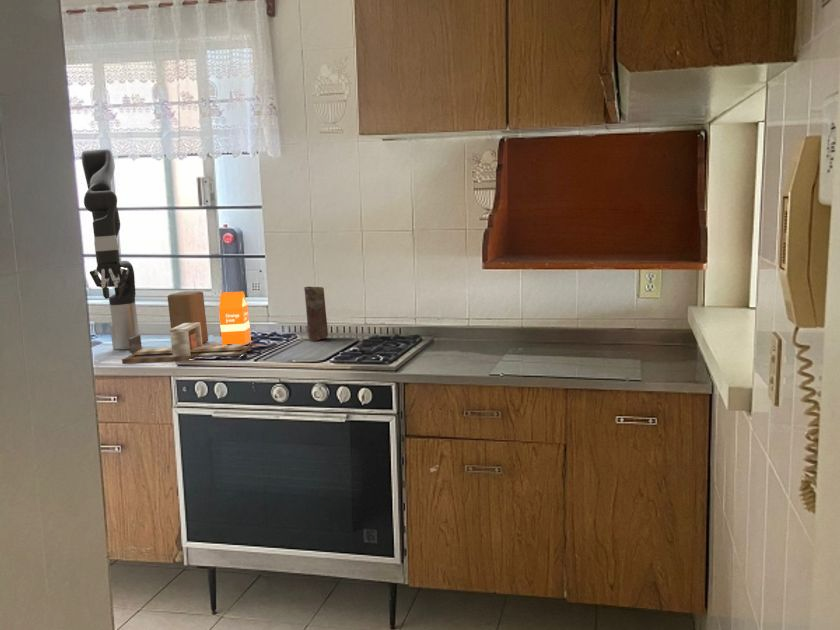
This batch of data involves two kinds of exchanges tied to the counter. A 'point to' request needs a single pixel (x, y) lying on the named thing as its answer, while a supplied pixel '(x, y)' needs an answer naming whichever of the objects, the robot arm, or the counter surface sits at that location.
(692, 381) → the counter surface
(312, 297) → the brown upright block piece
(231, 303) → the orange juice
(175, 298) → the wooden block
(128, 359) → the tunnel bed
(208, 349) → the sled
